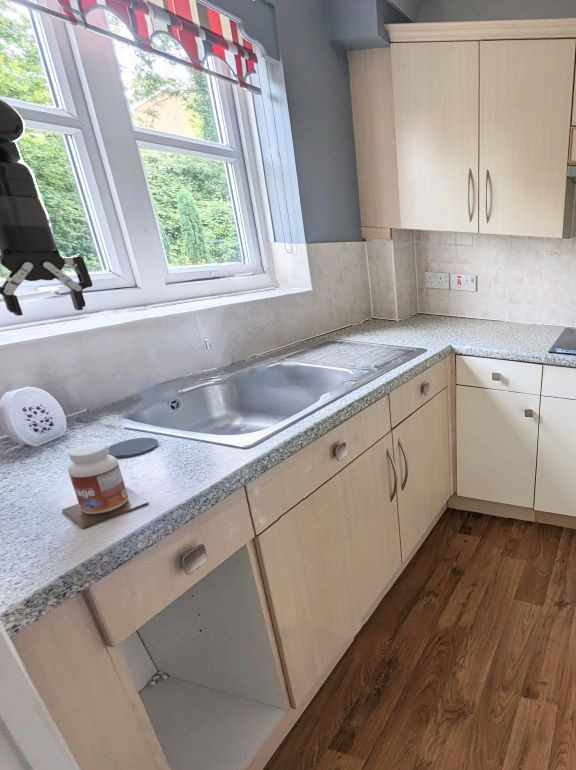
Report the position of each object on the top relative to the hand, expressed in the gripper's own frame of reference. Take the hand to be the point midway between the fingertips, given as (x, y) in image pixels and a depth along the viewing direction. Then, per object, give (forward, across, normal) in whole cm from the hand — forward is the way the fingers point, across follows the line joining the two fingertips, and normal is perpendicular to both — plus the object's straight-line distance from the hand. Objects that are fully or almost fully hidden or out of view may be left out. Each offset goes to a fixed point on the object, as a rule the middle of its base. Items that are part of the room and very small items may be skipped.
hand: (49, 312), depth 88 cm
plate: (+30, -5, +5) cm, 31 cm away
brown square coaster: (+30, +7, +28) cm, 42 cm away
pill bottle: (+30, +7, +28) cm, 41 cm away
